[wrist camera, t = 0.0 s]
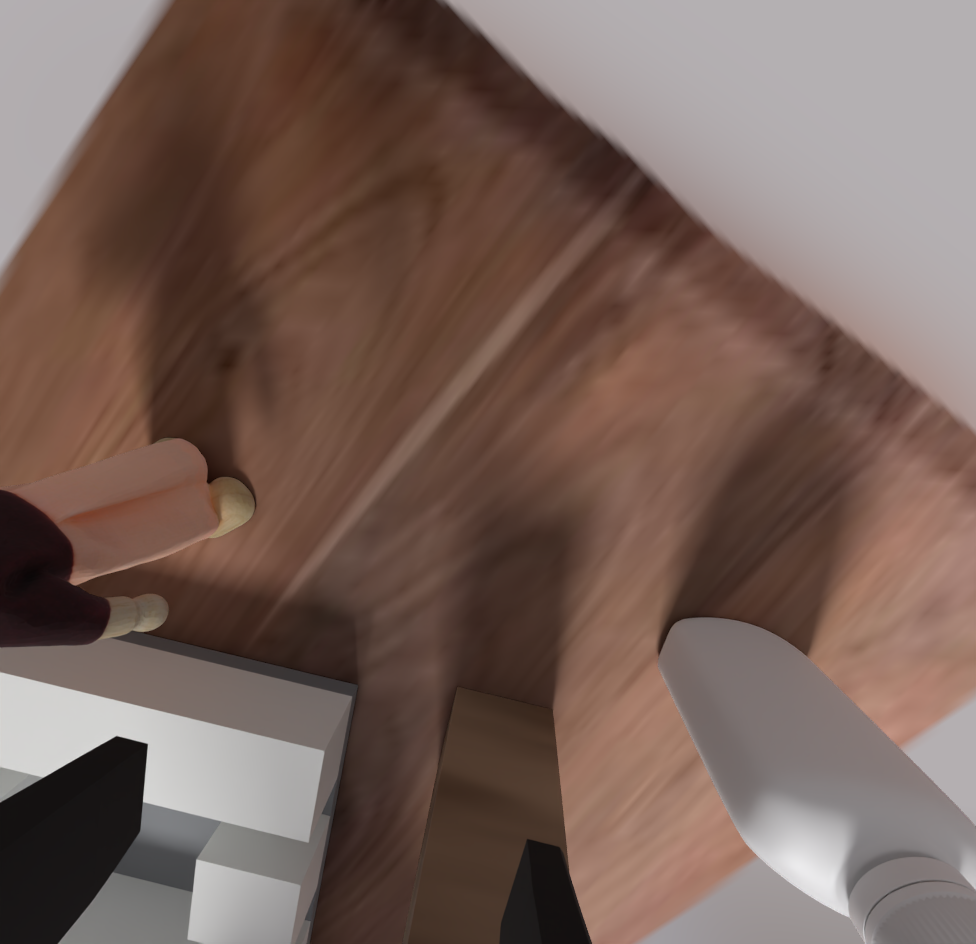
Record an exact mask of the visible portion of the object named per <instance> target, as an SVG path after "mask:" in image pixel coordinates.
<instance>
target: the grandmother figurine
mask: <svg viewBox="0 0 976 944" xmlns="http://www.w3.org/2000/svg"><path fill="white" fill-rule="evenodd" d="M207 472H208V469H207V464H206V460H205V458H204V456H203V455H202V454H201V453H200V451H199V450H198V448H197V447H195V446H194V445H193V444H192V443H190V442H188V441H186V440H183V439H181V438H177V439H176V438H163V439H160V440H158V441H157V442H155V443H154V444H152V445H148V446H145V447H142V448H139V449H135V450H132V451H129V452H126V453H123V454H120V455H117V456H114V457H111V458H108V459H105V460H102V461H99V462H96V463H93V464H90V465H87V466H84V467H81V468H77V469H74V470H70V471H67V472H64V473H61V474H58V475H55V476H51V477H48V478H45V479H42V480H39V481H36V482H34V483H29V484H22V485H15V486H8V487H1V488H0V648H4V647H36V646H62V645H64V646H77V645H88V644H91V643H93V642H95V641H97V640H101V639H106V638H111V637H117V636H121V635H124V634H127V633H129V632H130V631H132V630H134V631H137V632H145V631H150V630H154V629H156V628H157V627H159V626H160V625H162V624H163V623H164V622H165V620H166V618H167V616H168V613H169V606H168V603H167V602H166V600H165V599H164V598H163V597H161V596H159V595H157V594H144V595H140V596H138V597H135V598H133V599H131V598H129V597H125V596H119V597H107V598H102V597H98V596H94V595H91V594H89V593H87V592H86V591H84V590H82V589H81V588H79V587H77V586H75V585H78V584H80V583H83V582H86V581H88V580H90V579H93V578H95V577H98V576H102V575H105V574H109V573H113V572H117V571H120V570H124V569H128V568H130V567H133V566H136V565H139V564H142V563H146V562H150V561H153V560H157V559H160V558H163V557H166V556H168V555H170V554H173V553H175V552H177V551H180V550H182V549H184V548H186V547H188V546H189V545H192V544H194V543H196V542H198V541H201V540H203V539H206V538H216V537H220V536H222V535H224V534H226V533H228V532H230V531H232V530H233V529H235V528H237V527H239V526H241V525H242V524H244V523H246V522H247V521H248V520H249V519H250V518H251V517H252V515H253V513H254V510H255V502H254V498H253V495H252V494H251V492H250V491H249V490H248V489H247V487H246V486H245V485H244V484H243V483H241V482H240V481H239V480H237V479H235V478H231V477H220V478H217V479H215V480H213V481H212V482H211V483H210V484H208V483H207V482H206V481H207Z"/></svg>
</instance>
